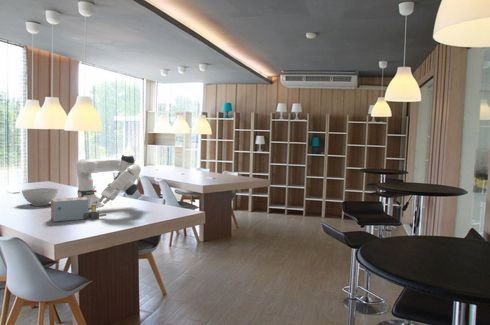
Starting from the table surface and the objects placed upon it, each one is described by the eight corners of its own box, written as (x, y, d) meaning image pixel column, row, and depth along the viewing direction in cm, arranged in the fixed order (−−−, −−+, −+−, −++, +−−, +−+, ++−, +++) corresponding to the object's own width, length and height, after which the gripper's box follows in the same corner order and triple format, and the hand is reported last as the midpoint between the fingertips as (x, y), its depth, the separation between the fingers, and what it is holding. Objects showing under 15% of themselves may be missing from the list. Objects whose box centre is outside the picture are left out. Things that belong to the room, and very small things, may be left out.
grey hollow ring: (97, 216, 279) (97, 210, 279) (100, 218, 273) (100, 212, 273) (82, 218, 273) (82, 212, 272) (84, 220, 267) (84, 213, 267)
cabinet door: (87, 218, 272) (87, 198, 272) (88, 218, 270) (88, 199, 269) (53, 221, 260) (53, 201, 259) (54, 221, 258) (54, 201, 257)
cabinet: (84, 216, 281) (84, 196, 280) (88, 218, 273) (88, 198, 272) (51, 219, 268) (51, 199, 267) (53, 221, 260) (53, 201, 259)
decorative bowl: (54, 201, 342) (54, 187, 341) (61, 205, 321) (61, 191, 320) (19, 203, 325) (19, 189, 324) (24, 208, 304) (24, 193, 303)
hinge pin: (93, 217, 276) (93, 203, 276) (97, 218, 275) (97, 204, 274) (90, 218, 273) (90, 204, 273) (93, 219, 272) (93, 204, 271)
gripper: (123, 192, 274) (109, 207, 269) (114, 189, 291) (100, 203, 285) (117, 186, 271) (102, 201, 266) (108, 183, 288) (94, 197, 283)
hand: (101, 202), depth 276 cm, fingers open, 8 cm apart
